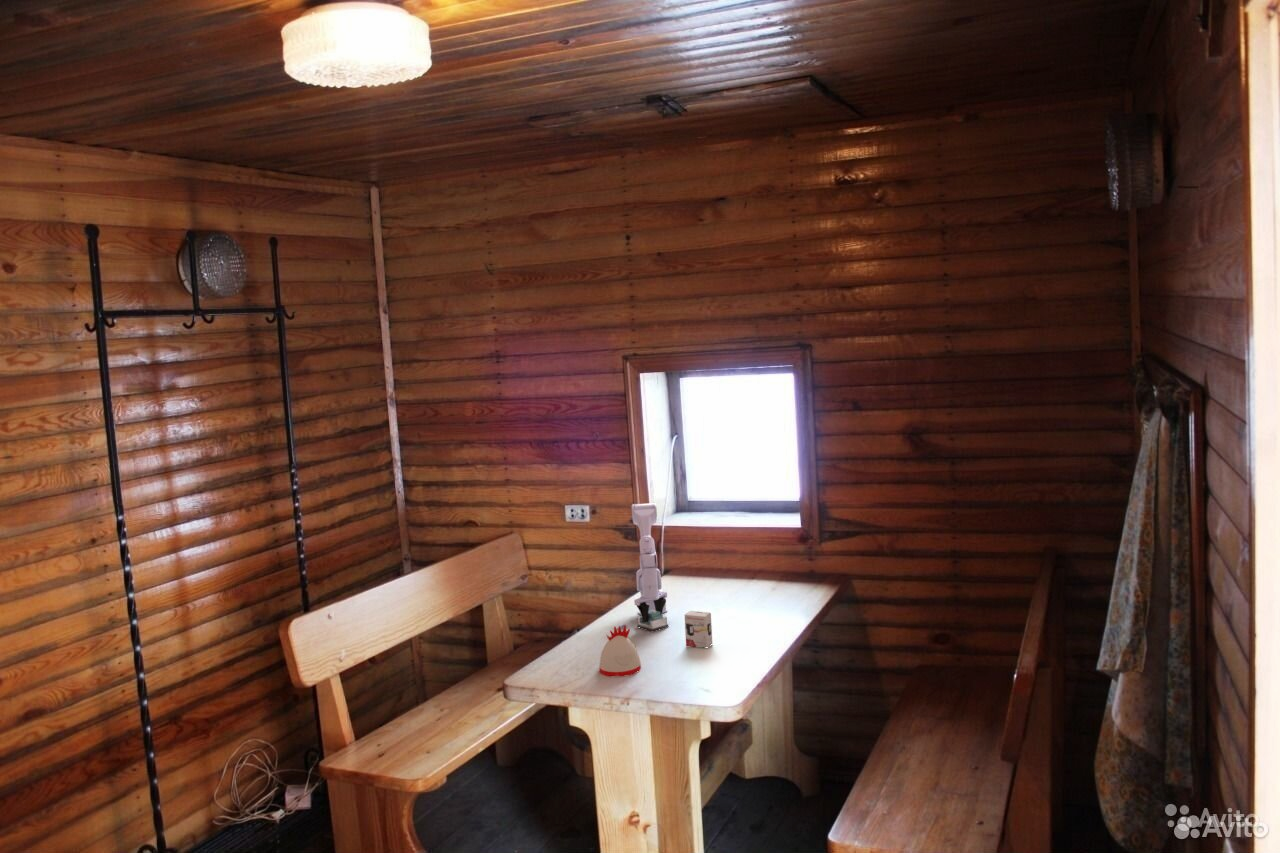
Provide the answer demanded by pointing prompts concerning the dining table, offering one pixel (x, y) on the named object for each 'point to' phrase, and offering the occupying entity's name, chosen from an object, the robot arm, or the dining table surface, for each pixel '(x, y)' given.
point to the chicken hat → (619, 655)
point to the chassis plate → (653, 624)
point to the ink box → (698, 629)
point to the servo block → (653, 615)
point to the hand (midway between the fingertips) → (652, 619)
